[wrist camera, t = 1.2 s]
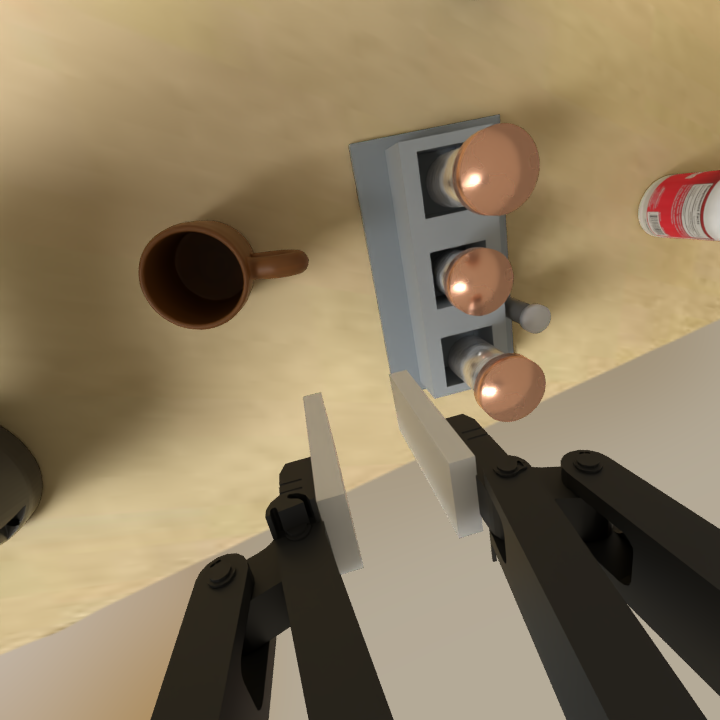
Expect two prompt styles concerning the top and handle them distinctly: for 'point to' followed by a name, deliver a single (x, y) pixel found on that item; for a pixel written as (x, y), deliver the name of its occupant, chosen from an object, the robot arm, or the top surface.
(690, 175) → the pill bottle
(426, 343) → the mount
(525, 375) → the knob
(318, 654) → the robot arm
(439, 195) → the knob
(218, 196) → the top surface
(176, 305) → the mug
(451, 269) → the knob mid
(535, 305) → the pot post
